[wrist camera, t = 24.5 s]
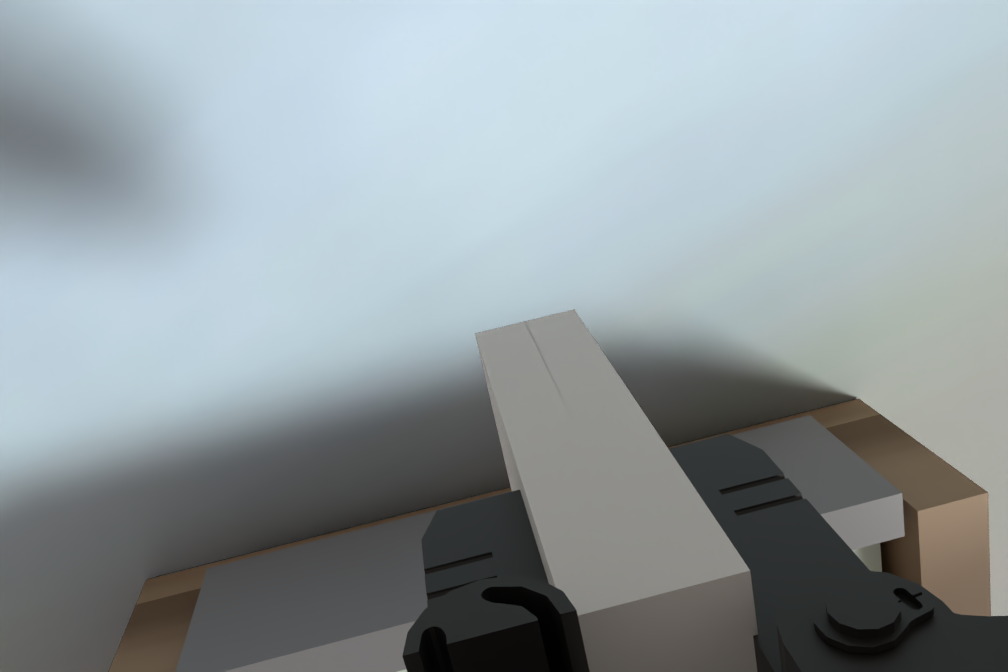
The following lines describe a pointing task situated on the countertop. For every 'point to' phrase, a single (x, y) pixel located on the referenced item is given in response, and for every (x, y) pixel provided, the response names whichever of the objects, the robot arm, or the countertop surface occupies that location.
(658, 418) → the countertop surface
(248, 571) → the tray
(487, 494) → the dock
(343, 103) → the countertop surface
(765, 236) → the countertop surface
